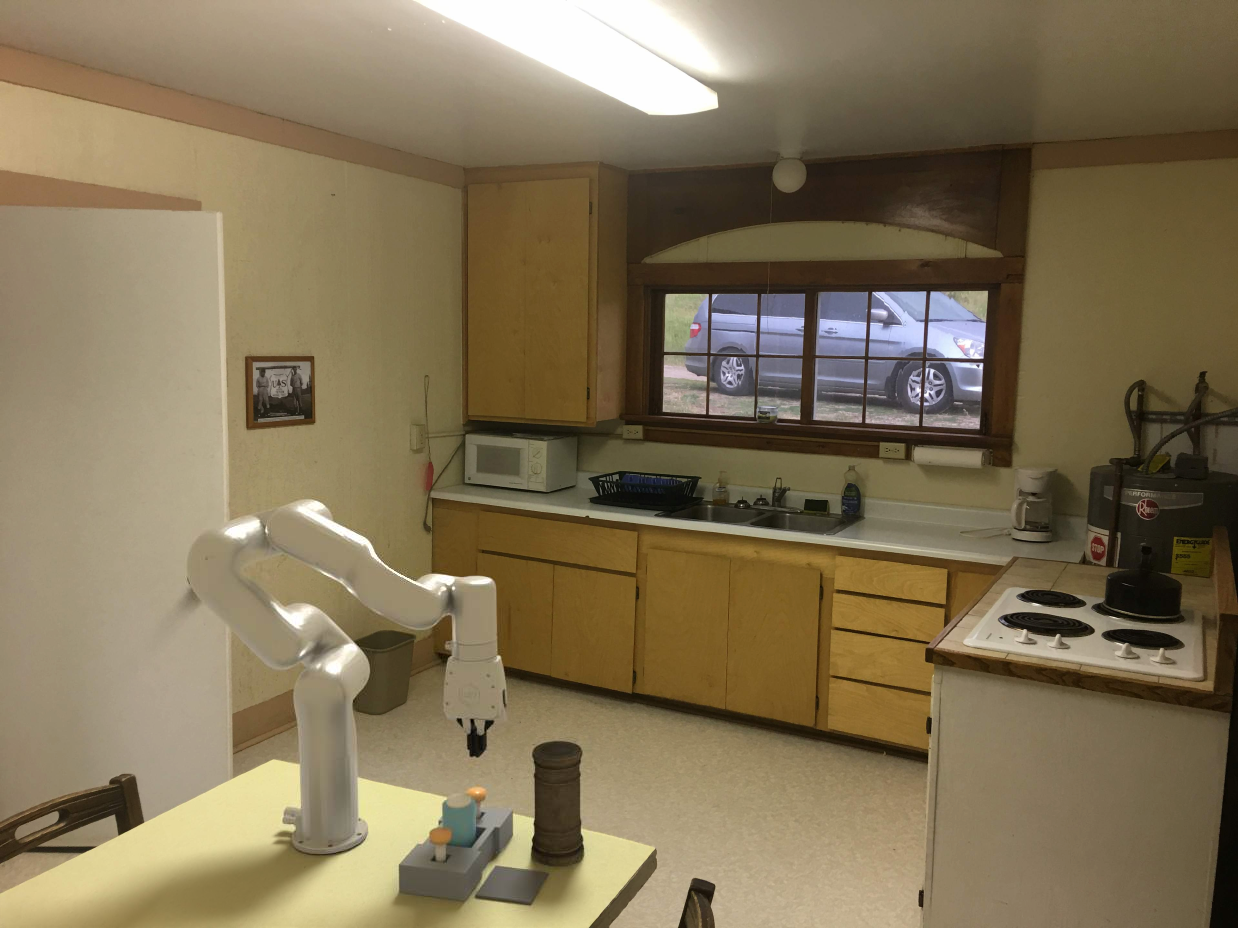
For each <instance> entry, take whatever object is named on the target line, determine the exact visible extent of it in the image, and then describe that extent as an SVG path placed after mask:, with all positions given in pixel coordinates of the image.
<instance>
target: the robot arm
mask: <svg viewBox="0 0 1238 928" xmlns="http://www.w3.org/2000/svg"><path fill="white" fill-rule="evenodd" d="M281 555H286V556H287V557H289V558H291V559H293V560H295V561H298V562H299V563H301V564H303V565H305V566H307V567H308V568H309V567H310V568H311V569H313V570H315V571H317V572H320V573H322V574H323V575H325V576H327V577H329V578H331V579H333V580H335V581H337V582H339V583H340V584H341V585H343V586H344V587H345V588H346V589H347V590H348V592H350V593H351V595H353V596H354V597H355V598H356V599H357V600H358V601H360V603H362V604H363V605H364V606H365V607H367V608H368V609H370V610H371V611H373V612H375V613H376V614H378V615H380V616H382V617H384V618H385V619H388V620H390V621H392V622H394V623H396V624H398V625H400V626H402V627H405V628H408V629H411V630H415V631H423V630H428V629H431V628H433V627H434V626H436V625H437V624H438V623H439V622H440V621H441V620H442V619H443V618H444V617H447V616H451V629H452V630H451V631H452V632H451V633H452V634H451V635H452V636H451V637H452V638H451V640H450V641H446V642H445V644H444V648H445V650H449V651H451V656H449V657H448V658H447V662H446V669H445V675H444V685H443V703H442V705H443V712H444V714H445V718H446V719H447V720H449V721H453V722H456V723H457V724H459V726H460V727H461V728H462V729H463V732H464V733H465V734H466V749H467V750H468V753H469V755H468V756H469V757H470V758H473V757H474V758H478V759H479V758H480V757H481V756H482V755H483V754H484V752H485V751H487V748H488V739H487V738H488V737H487V736H488V735H487V733H488V732H487V731H488V730H489V729H490V728H491V727H492V726H498V725H500V724H501V725H503V724H505V723H506V721H507V720H508V715H507V713H506V710H507V707H508V696H507V683H506V676H505V675H506V674H505V670H504V664H503V661H502V657H501V655H498V621H497V619H498V617H497V585H496V582H495V580H494V579H492V578H491V577H487V576H483V575H468V576H463V577H460V576H453V575H448V574H441V573H427V574H424V575H422V576H420V577H419V578H418V579H417V580H415V581H414V580H412V579H410V578H407V576H406V577H405V576H404V575H401V574H400V573H398V572H397V571H394V569H391V568H390V567H389V566H387V565H386V564H384V563H383V561H381V559H380V558H379V557H378V555H377V554H376V552H375V549H374V547H373V545H372V543H371V542H370V540H369V539H368V538H366V537H365V536H363V535H361V534H358V533H357V532H355V531H353V530H352V529H349V528H347V527H344V526H343V525H341V524H339V523H337V522H335V521H334V518H333V514H332V513H331V511H330V510H329V508H328V507H327V506H325V504H323V503H322V502H320V501H317V500H315V499H310V498H306V499H305V498H303V499H299V500H297V501H293V502H291V503H287V504H285V505H281V506H278V507H274V508H270V509H265V510H264V511H263V510H262V511H258V512H255V513H251V514H248V515H244V516H240V517H237V518H235V519H230V520H229V521H226V522H222V523H218V524H216V525H214V526H211V527H209V528H207V529H205V530H204V531H203V532H201V534H199V535H198V536H197V537H196V538H195V540H194V542H193V543H192V544H191V546H190V549H189V551H188V554H187V559H186V574H187V580H188V582H189V585H190V587H191V588H192V590H193V593H194V594H195V595H196V596H197V599H199V600H200V601H201V603H203V604H204V606H205V607H207V608H208V609H209V610H210V611H211V612H213V613H214V614H215V615H216V616H217V617H218V618H219V619H220V620H221V621H222V622H223V623H224V624H225V625H226V626H227V627H228V628H229V629H230V630H231V631H232V632H233V633H234V634H235V636H236V637H238V638H239V640H241V641H242V642H243V643H244V644H245V646H247V647H248V648H249V649H250V650H251V651H252V652H253V653H254V654H255V655H256V656H257V657H258V658H259V659H260V661H262V662H263V663H264V664H265V665H267V666H268V667H269V668H271V669H273V670H277V671H284V670H289V669H291V668H293V667H295V666H297V665H299V664H302V665H303V666H304V667H305V668H304V669H303V670H302V672H301V673H300V674H299V676H298V678H297V679H296V681H295V684H294V688H293V694H292V695H293V696H292V699H293V707H294V712H295V717H296V722H297V723H296V724H297V730H298V731H297V733H298V734H297V735H298V755H299V776H300V777H299V783H300V784H299V789H300V808H298V807H296V806H295V807H294V806H286V807H285V808H284V811H283V818H282V821H281V822H282V824H284V825H293V826H294V827H295V829H294V831H293V833H292V834H291V835H292V837H291V842H292V845H293V847H294V848H295V849H296V850H298V851H300V852H303V853H305V854H311V855H328V854H334V853H340V852H344V851H346V850H349V849H352V848H354V847H355V846H357V845H358V844H360V843H362V842H363V841H364V840H365V839H366V838H367V836H368V834H369V825H368V823H367V822H366V821H365V820H364V819H363V818H361V817H359V789H358V788H359V784H358V783H359V781H358V776H359V775H358V747H357V746H358V742H357V741H358V740H357V727H356V726H357V725H356V721H355V716H354V711H353V703H354V702H353V701H354V699H356V697H357V695H358V694H360V692H361V691H362V690H363V689H364V688H365V686H366V685H367V683H368V681H369V678H370V673H371V668H370V667H371V666H370V663H369V660H368V657H367V656H366V654H365V653H364V651H363V650H362V648H360V647H359V645H357V644H356V643H355V642H354V641H353V640H352V639H351V637H349V636H348V635H347V633H346V632H344V631H343V630H342V629H341V627H339V626H338V625H337V624H336V622H334V621H333V620H332V618H331V617H329V616H328V615H327V614H326V613H325V612H324V611H322V610H321V608H320V609H319V608H318V607H316V606H315V605H313V604H309V603H306V602H305V603H304V602H295V603H291V604H288V605H286V606H284V605H283V604H282V603H280V601H279V600H278V599H276V598H275V597H274V596H273V595H272V594H271V592H270V591H269V590H268V589H267V588H266V587H265V586H263V585H262V584H260V583H259V582H258V581H256V580H255V579H252V578H251V577H249V576H247V574H246V573H245V572H244V568H246V567H250V566H251V565H252V564H255V563H258V562H261V561H263V560H267V559H271V558H275V557H277V556H281ZM476 721H477V722H476Z"/></svg>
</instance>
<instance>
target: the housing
mask: <svg viewBox="0 0 1238 928" xmlns="http://www.w3.org/2000/svg"><path fill="white" fill-rule="evenodd" d="M437 821H438V826H436V828H438V827H443V825H442V816H441V817H440V818H439V819H438V820H437ZM513 835H514V809H512V808H511V809H510V808H501V807H493V806H492V807H491V806H483V805H481V819H476V843H475V844H474V845H473V846H472V848H466V847H458V846H450V845H446V863H441V862H436V854H435V844H432V843H430V841H429V836H428V837H427V838H426V839H425V841H424V842H423V843H416V844H415V846H414V847H413V848H412V849H411V850H410V852H409V853H408V854H407V855H405V857H404V858H403V859H402V860H401V861H400V862H399V864H398V893H401V894H408V895H416V896H422V897H423V896H425V897H431V898H439V899H446V900H453V901H454V900H455V901H460V902H466V901H467V900H468V899H469V897H470V896H471V895H472V893H473V892H474V890H475V888H476V887H477V886H478V884H479V883H480V882H481V880H482V879H483V870H484V869H485V868H486V866H487V864H488V863H489V862H490V860H491V859H492V858H493V856H494V855H495V854H500V853H501V852H502V851H503V849H504V848H505V847H506V845H507V843H508V842H509V841H510V839H511V838H512V837H513Z"/></svg>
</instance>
